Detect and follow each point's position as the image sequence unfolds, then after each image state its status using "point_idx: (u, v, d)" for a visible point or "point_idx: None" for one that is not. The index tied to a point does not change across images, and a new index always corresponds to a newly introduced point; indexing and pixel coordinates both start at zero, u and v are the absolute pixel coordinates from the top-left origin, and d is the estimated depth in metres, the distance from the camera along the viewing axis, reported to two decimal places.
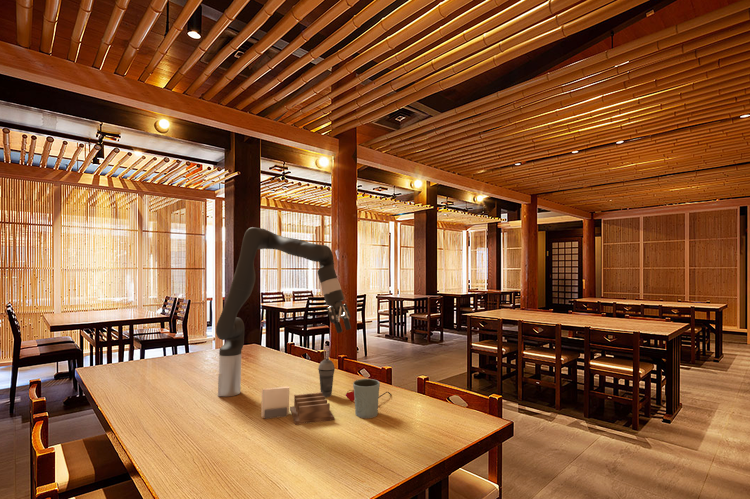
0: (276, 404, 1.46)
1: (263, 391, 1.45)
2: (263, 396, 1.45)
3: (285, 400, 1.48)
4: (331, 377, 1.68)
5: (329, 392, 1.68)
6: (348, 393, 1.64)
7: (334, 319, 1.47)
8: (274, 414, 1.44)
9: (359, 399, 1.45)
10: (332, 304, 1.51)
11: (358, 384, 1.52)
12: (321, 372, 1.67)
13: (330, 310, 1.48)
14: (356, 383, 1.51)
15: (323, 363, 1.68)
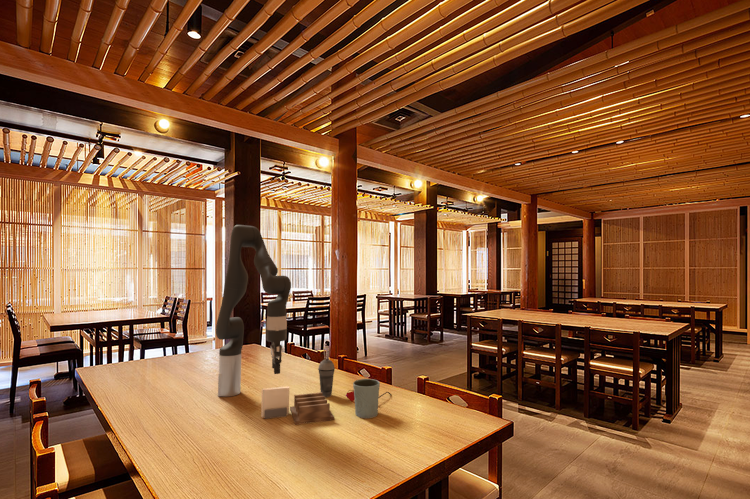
0: (276, 404, 1.46)
1: (263, 391, 1.45)
2: (263, 396, 1.45)
3: (285, 400, 1.48)
4: (331, 377, 1.68)
5: (329, 392, 1.68)
6: (348, 393, 1.64)
7: (279, 360, 1.42)
8: (274, 414, 1.44)
9: (359, 399, 1.45)
10: (277, 343, 1.45)
11: (358, 384, 1.52)
12: (321, 372, 1.67)
13: (277, 350, 1.42)
14: (356, 383, 1.51)
15: (323, 363, 1.68)
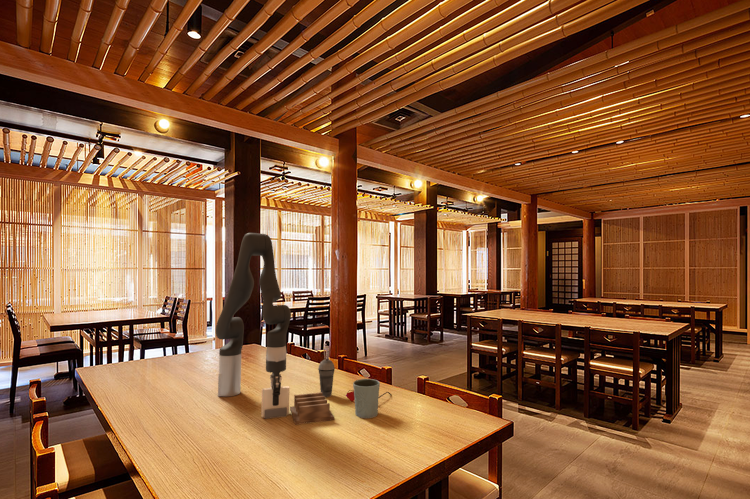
0: None
1: (263, 391, 1.45)
2: (263, 395, 1.45)
3: (285, 400, 1.48)
4: (331, 377, 1.68)
5: (329, 392, 1.68)
6: (348, 393, 1.64)
7: (278, 393, 1.44)
8: (274, 414, 1.44)
9: (359, 399, 1.45)
10: (277, 374, 1.44)
11: (358, 384, 1.52)
12: (321, 372, 1.67)
13: (276, 387, 1.42)
14: (356, 383, 1.51)
15: (323, 363, 1.68)
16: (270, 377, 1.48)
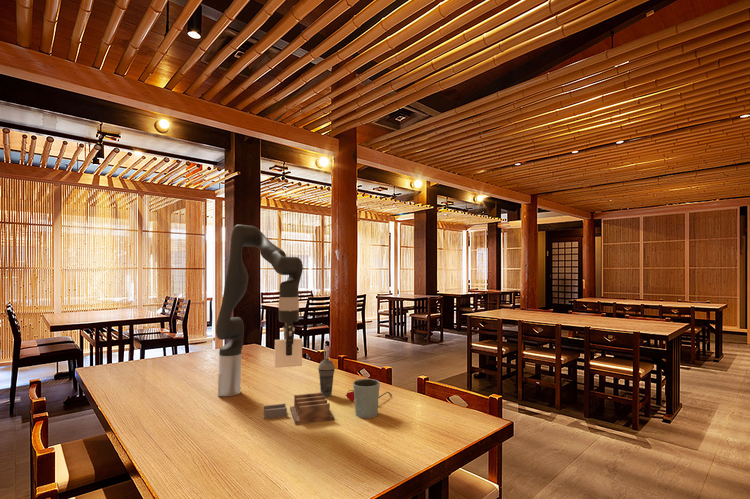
0: None
1: (276, 341, 1.46)
2: (276, 346, 1.46)
3: (298, 351, 1.48)
4: (331, 377, 1.68)
5: (329, 392, 1.68)
6: (348, 393, 1.64)
7: (291, 342, 1.45)
8: (274, 414, 1.44)
9: (359, 399, 1.45)
10: (290, 323, 1.45)
11: (358, 384, 1.52)
12: (321, 372, 1.67)
13: (290, 335, 1.43)
14: (356, 383, 1.51)
15: (323, 363, 1.68)
16: (283, 328, 1.48)
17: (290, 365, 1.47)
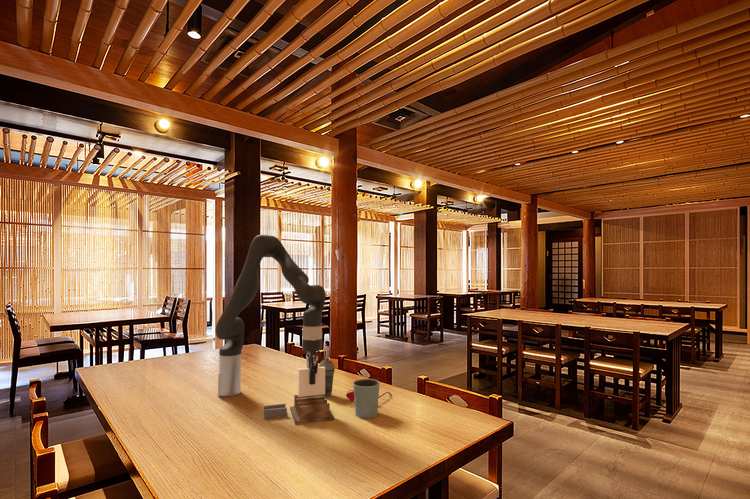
0: (313, 384, 1.47)
1: (300, 371, 1.46)
2: (300, 375, 1.46)
3: (321, 380, 1.48)
4: (331, 377, 1.68)
5: (329, 392, 1.68)
6: (348, 393, 1.64)
7: (315, 371, 1.45)
8: (274, 414, 1.44)
9: (359, 399, 1.45)
10: (314, 352, 1.45)
11: (358, 384, 1.52)
12: None
13: (314, 365, 1.43)
14: (356, 383, 1.51)
15: (323, 363, 1.68)
16: (306, 356, 1.49)
17: (313, 394, 1.47)
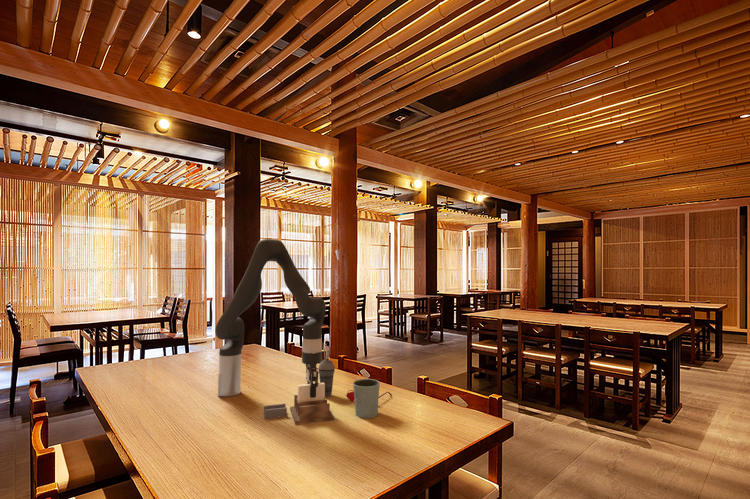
0: (312, 400, 1.47)
1: (299, 387, 1.46)
2: (299, 392, 1.46)
3: (321, 396, 1.48)
4: (331, 377, 1.68)
5: (329, 392, 1.68)
6: (348, 393, 1.64)
7: (316, 385, 1.43)
8: (274, 414, 1.44)
9: (359, 399, 1.45)
10: (314, 365, 1.45)
11: (358, 384, 1.52)
12: (321, 372, 1.67)
13: (314, 376, 1.42)
14: (356, 383, 1.51)
15: (323, 363, 1.68)
16: (306, 369, 1.48)
17: None
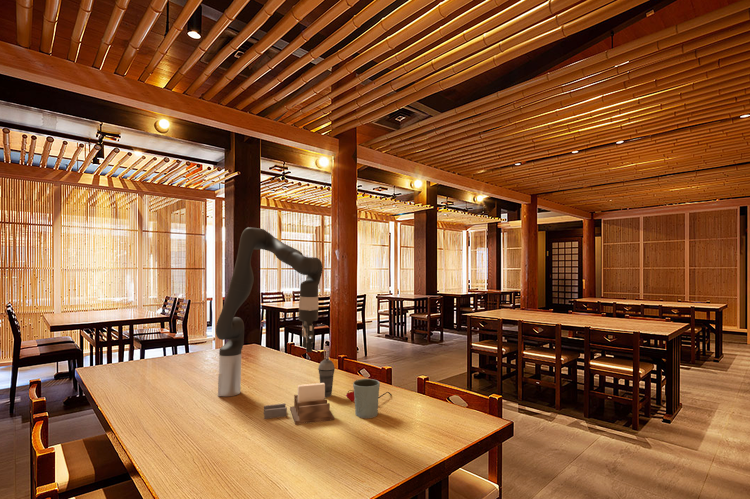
0: (312, 400, 1.47)
1: (299, 387, 1.46)
2: (299, 392, 1.46)
3: (321, 396, 1.48)
4: (331, 377, 1.68)
5: (329, 392, 1.68)
6: (348, 393, 1.64)
7: (312, 339, 1.45)
8: (274, 414, 1.44)
9: (359, 399, 1.45)
10: (310, 322, 1.49)
11: (358, 384, 1.52)
12: (321, 372, 1.67)
13: (310, 329, 1.45)
14: (356, 383, 1.51)
15: (323, 363, 1.68)
16: (302, 327, 1.52)
17: None
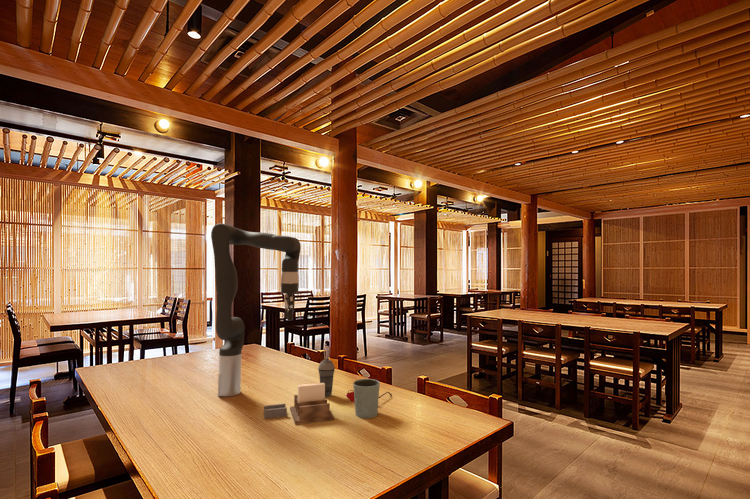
0: (312, 400, 1.47)
1: (299, 387, 1.46)
2: (299, 392, 1.46)
3: (321, 396, 1.48)
4: (331, 377, 1.68)
5: (329, 392, 1.68)
6: (348, 393, 1.64)
7: (293, 308, 1.64)
8: (274, 414, 1.44)
9: (359, 399, 1.45)
10: (291, 294, 1.67)
11: (358, 384, 1.52)
12: (321, 372, 1.67)
13: (291, 300, 1.64)
14: (356, 383, 1.51)
15: (323, 363, 1.68)
16: (284, 299, 1.70)
17: None
